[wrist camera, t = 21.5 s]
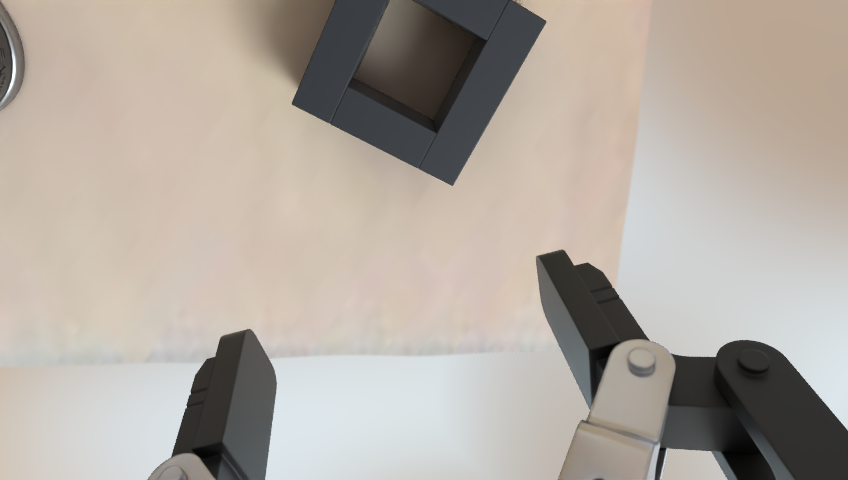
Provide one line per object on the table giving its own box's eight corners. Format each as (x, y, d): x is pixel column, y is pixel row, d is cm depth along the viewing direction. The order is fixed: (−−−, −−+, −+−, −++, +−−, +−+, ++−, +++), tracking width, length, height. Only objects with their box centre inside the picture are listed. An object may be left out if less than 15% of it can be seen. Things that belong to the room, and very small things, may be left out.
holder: (304, 93, 36) (291, 104, 32) (376, -73, 32) (372, -86, 28) (447, 167, 38) (452, 186, 34) (529, 20, 34) (546, 21, 30)
